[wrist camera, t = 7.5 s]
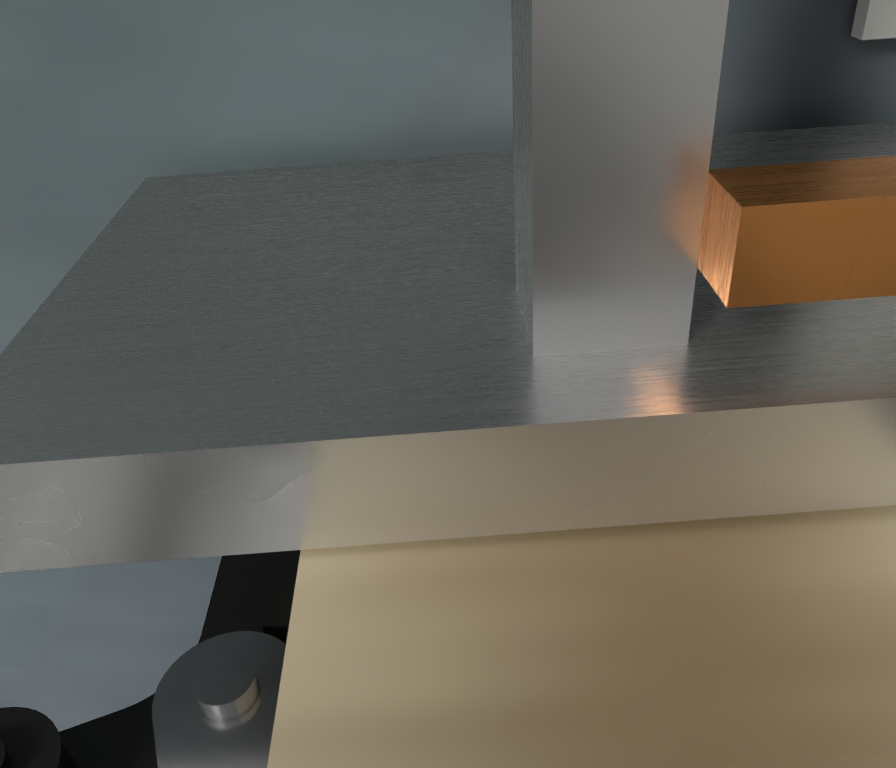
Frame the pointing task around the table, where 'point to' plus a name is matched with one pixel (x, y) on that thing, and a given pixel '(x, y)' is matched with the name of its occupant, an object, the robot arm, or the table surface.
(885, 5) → the blue-grey rectangular block
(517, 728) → the maple block
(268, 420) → the plate
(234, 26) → the table surface
